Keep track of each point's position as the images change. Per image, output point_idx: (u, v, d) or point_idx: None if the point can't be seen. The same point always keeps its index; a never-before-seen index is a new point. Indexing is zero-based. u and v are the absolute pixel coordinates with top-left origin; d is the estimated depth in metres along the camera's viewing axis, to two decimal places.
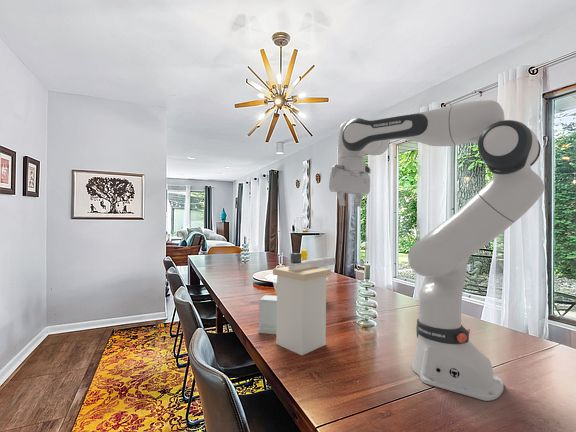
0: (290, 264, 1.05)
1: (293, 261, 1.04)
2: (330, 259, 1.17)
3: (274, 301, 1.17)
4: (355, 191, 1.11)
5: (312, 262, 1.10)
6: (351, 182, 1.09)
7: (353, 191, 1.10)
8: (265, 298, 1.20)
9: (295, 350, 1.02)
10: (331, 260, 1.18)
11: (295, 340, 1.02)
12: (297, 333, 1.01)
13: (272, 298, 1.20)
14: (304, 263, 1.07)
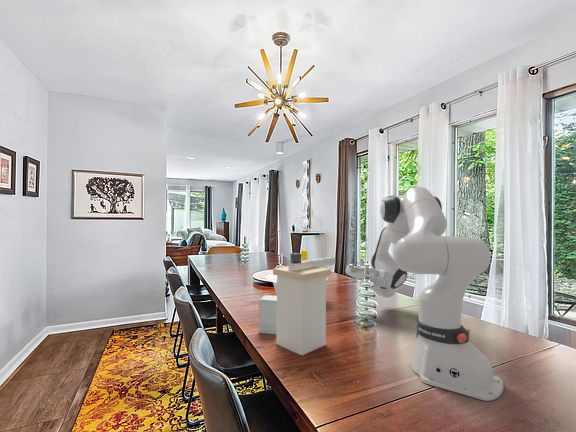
0: (290, 264, 1.05)
1: (293, 261, 1.04)
2: (330, 259, 1.17)
3: (274, 301, 1.17)
4: None
5: (312, 262, 1.10)
6: None
7: None
8: (265, 298, 1.20)
9: (295, 350, 1.02)
10: (331, 260, 1.18)
11: (295, 340, 1.02)
12: (297, 333, 1.01)
13: (272, 298, 1.20)
14: (304, 263, 1.07)
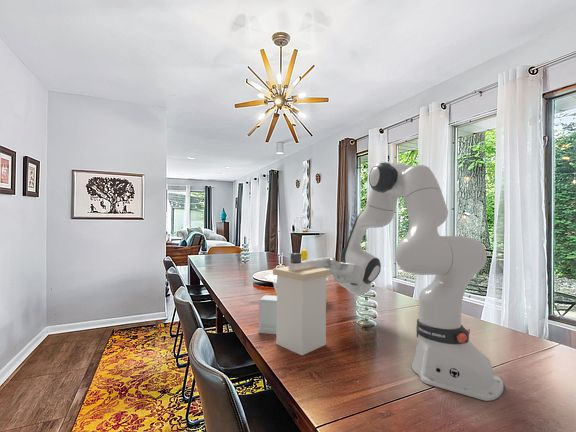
0: (290, 264, 1.05)
1: (293, 261, 1.04)
2: None
3: (274, 301, 1.17)
4: None
5: (312, 262, 1.10)
6: None
7: None
8: (265, 298, 1.20)
9: (295, 350, 1.02)
10: None
11: (295, 340, 1.02)
12: (297, 333, 1.01)
13: (272, 298, 1.20)
14: (304, 263, 1.07)
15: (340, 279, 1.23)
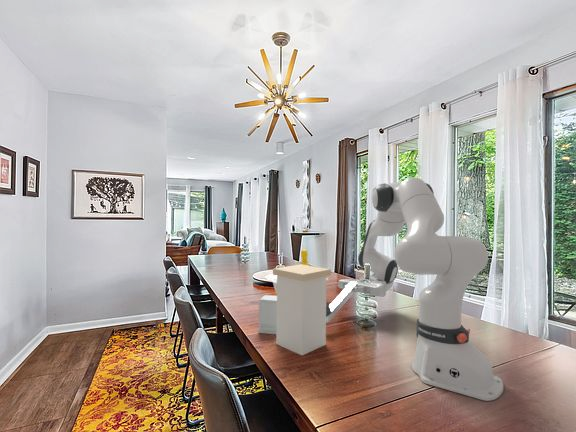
0: None
1: None
2: None
3: (274, 301, 1.17)
4: (358, 283, 1.33)
5: (340, 303, 1.22)
6: (357, 282, 1.36)
7: None
8: (265, 298, 1.20)
9: (295, 350, 1.02)
10: None
11: (295, 340, 1.02)
12: (297, 333, 1.01)
13: (272, 298, 1.20)
14: (334, 309, 1.20)
15: None
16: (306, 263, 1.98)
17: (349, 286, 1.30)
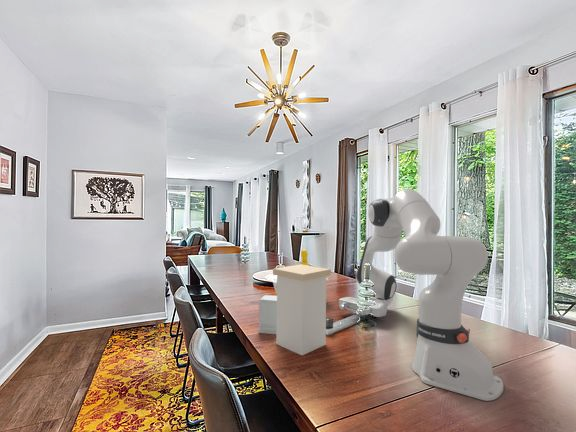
0: None
1: (326, 326, 1.18)
2: (356, 318, 1.30)
3: (274, 301, 1.17)
4: None
5: (342, 325, 1.23)
6: None
7: (356, 303, 1.34)
8: (265, 298, 1.20)
9: (295, 350, 1.02)
10: (357, 319, 1.31)
11: (295, 340, 1.02)
12: (297, 333, 1.01)
13: (272, 298, 1.20)
14: (335, 327, 1.20)
15: None
16: (306, 263, 1.98)
17: (352, 316, 1.31)
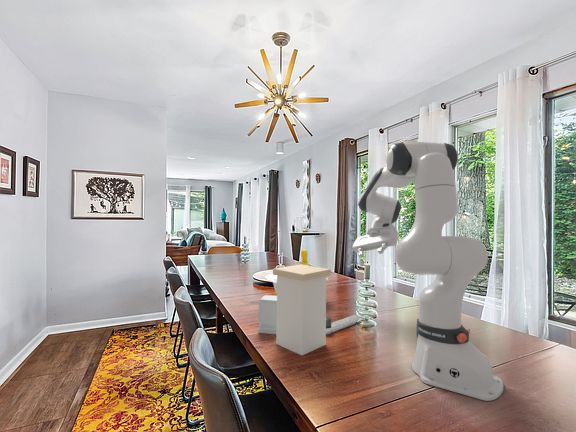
0: None
1: None
2: (356, 318, 1.30)
3: (274, 301, 1.17)
4: (372, 242, 1.34)
5: (340, 324, 1.23)
6: (368, 239, 1.38)
7: (369, 243, 1.35)
8: (265, 298, 1.20)
9: (295, 350, 1.02)
10: (357, 319, 1.31)
11: (295, 340, 1.02)
12: (297, 333, 1.01)
13: (272, 298, 1.20)
14: (334, 327, 1.20)
15: None
16: (306, 263, 1.98)
17: (352, 316, 1.31)
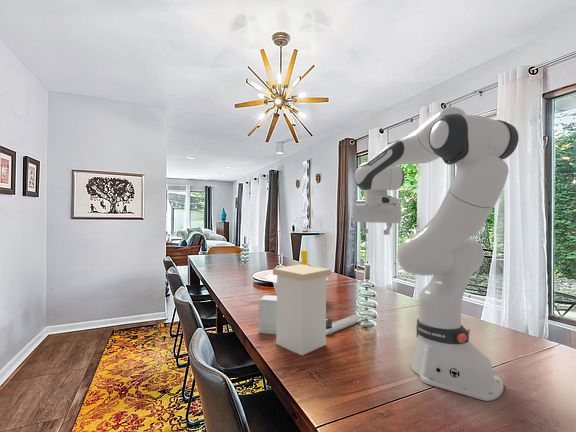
0: None
1: None
2: (356, 318, 1.30)
3: (274, 301, 1.17)
4: (375, 221, 1.25)
5: (341, 324, 1.23)
6: (369, 213, 1.27)
7: (372, 221, 1.26)
8: (265, 298, 1.20)
9: (295, 350, 1.02)
10: (357, 319, 1.31)
11: (295, 340, 1.02)
12: (297, 333, 1.01)
13: (272, 298, 1.20)
14: (334, 327, 1.20)
15: None
16: (306, 263, 1.98)
17: (352, 316, 1.31)
